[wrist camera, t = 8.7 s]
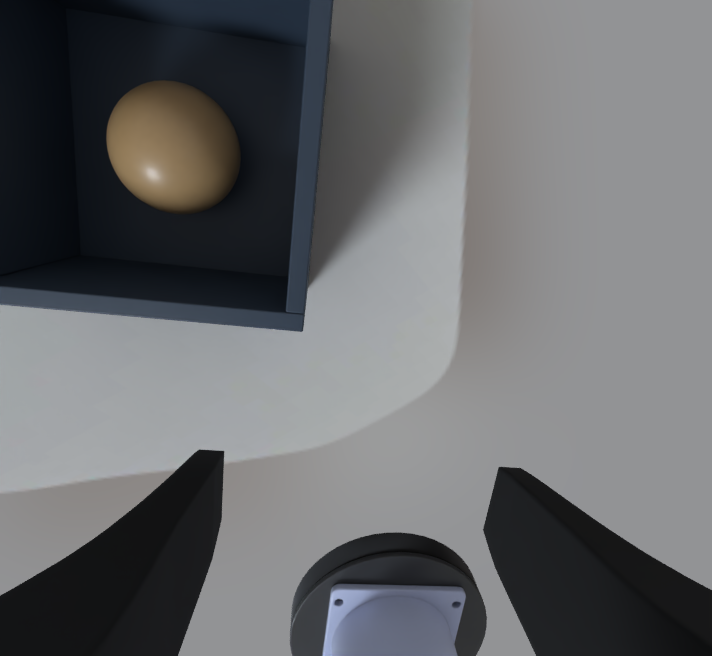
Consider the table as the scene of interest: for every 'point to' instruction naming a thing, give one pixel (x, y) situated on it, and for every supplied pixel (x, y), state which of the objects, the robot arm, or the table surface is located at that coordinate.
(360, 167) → the table surface
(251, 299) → the bin
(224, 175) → the brown ball
